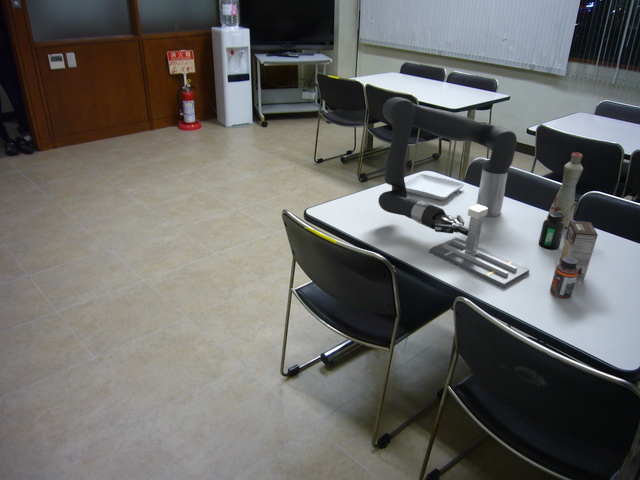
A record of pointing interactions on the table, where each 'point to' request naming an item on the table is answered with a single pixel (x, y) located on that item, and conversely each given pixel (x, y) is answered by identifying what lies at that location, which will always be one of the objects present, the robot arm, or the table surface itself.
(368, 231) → the table surface
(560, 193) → the bottle
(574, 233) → the coffee box
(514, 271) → the slider rail base
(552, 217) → the supplement bottle
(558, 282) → the supplement bottle
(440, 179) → the salad plate
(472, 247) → the post
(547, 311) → the table surface
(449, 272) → the table surface
